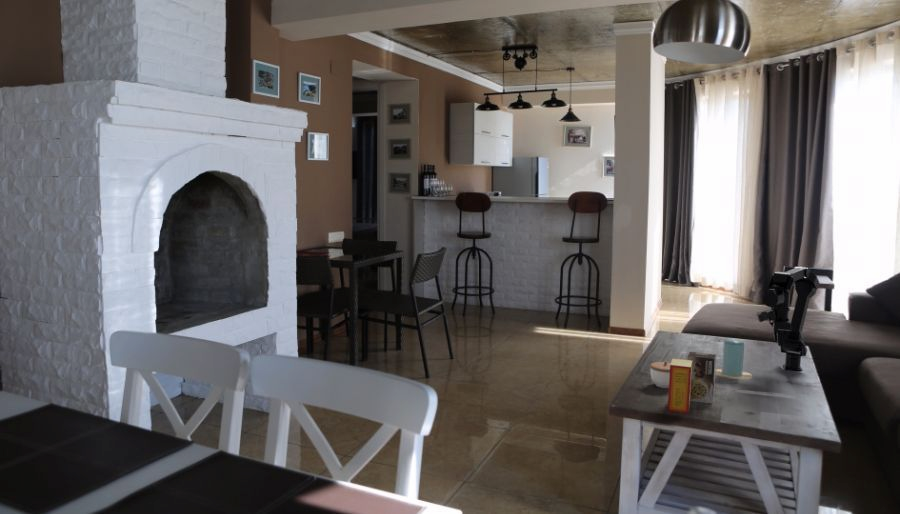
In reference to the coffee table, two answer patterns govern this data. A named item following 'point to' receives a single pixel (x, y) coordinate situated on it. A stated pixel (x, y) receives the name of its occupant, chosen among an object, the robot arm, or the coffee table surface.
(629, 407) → the coffee table surface
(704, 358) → the coffee box
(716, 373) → the oak plate
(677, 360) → the baking soda box
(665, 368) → the lidded jar
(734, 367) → the teal domed canister
